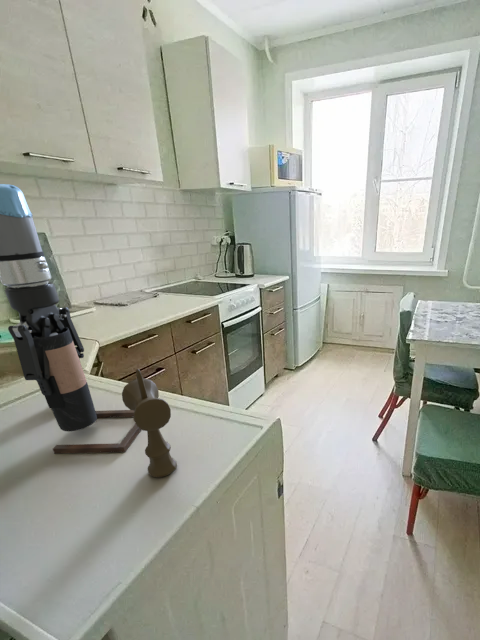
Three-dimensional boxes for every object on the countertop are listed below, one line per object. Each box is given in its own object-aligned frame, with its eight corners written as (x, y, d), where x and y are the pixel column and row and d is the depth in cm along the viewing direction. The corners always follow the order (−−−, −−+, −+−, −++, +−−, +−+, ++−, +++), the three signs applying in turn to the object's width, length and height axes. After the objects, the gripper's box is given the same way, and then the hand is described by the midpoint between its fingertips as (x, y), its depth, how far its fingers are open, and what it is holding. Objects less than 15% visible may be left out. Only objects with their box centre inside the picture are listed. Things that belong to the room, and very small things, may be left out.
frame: (54, 453, 70) (52, 448, 69) (93, 415, 83) (91, 410, 83) (125, 452, 69) (123, 447, 69) (153, 413, 83) (151, 409, 82)
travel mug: (76, 435, 71) (41, 340, 62) (49, 429, 73) (12, 337, 65) (106, 416, 77) (78, 327, 68) (80, 411, 80) (50, 325, 71)
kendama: (171, 451, 69) (149, 355, 60) (188, 478, 61) (165, 373, 53) (140, 462, 66) (111, 364, 57) (153, 492, 59) (122, 384, 50)
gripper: (6, 295, 53) (56, 423, 63) (81, 273, 72) (111, 375, 82) (-42, 297, 54) (16, 424, 64) (45, 275, 72) (79, 376, 82)
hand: (69, 397), depth 73 cm, fingers closed on travel mug, 8 cm apart
